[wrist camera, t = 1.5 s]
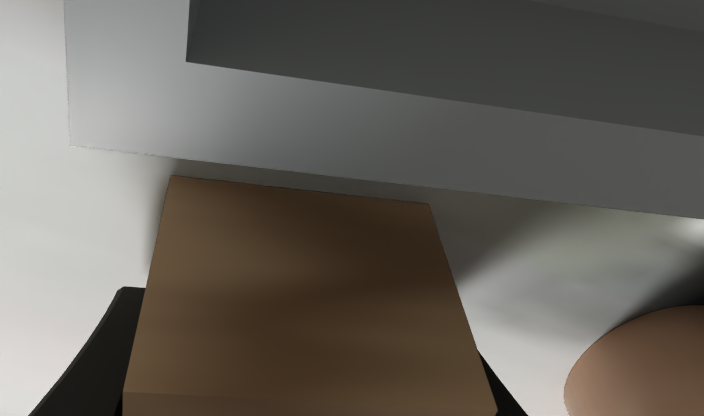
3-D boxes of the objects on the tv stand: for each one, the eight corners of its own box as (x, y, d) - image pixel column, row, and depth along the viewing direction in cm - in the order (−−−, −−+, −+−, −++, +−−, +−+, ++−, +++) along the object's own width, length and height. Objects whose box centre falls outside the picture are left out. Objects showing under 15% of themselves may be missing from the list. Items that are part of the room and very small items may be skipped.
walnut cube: (428, 204, 13) (497, 410, 9) (374, 372, 16) (409, 588, 12) (170, 175, 12) (122, 392, 8) (160, 360, 15) (120, 590, 11)
